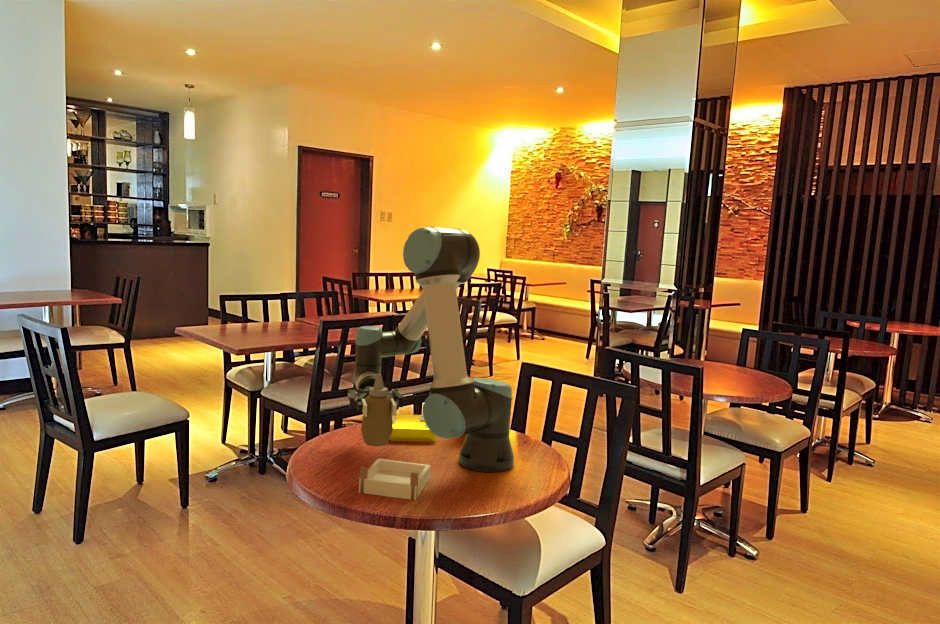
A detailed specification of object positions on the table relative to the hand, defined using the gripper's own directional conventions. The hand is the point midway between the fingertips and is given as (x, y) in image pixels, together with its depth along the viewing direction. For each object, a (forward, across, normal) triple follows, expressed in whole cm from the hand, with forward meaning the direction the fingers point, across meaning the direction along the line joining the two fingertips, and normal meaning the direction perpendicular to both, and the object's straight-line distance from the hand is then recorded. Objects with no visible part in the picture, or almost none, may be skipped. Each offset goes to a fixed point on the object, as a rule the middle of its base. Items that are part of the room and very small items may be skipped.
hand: (380, 410), depth 158 cm
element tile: (-36, -14, -18) cm, 43 cm away
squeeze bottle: (-5, 0, -10) cm, 11 cm away
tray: (+3, -4, -18) cm, 19 cm away
